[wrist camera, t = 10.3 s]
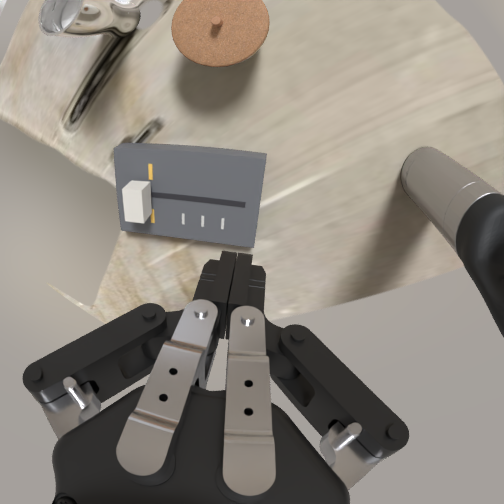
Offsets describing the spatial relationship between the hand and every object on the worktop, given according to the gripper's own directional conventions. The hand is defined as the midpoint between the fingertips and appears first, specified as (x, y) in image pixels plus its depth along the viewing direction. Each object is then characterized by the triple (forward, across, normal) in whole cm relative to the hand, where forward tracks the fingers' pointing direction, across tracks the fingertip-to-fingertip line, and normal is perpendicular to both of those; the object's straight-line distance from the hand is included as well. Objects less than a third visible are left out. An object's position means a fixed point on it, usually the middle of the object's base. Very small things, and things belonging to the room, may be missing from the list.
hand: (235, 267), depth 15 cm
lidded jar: (+29, +6, -15) cm, 33 cm away
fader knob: (+26, +16, +9) cm, 32 cm away
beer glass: (+29, +22, -18) cm, 41 cm away
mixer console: (+29, +10, +9) cm, 32 cm away
